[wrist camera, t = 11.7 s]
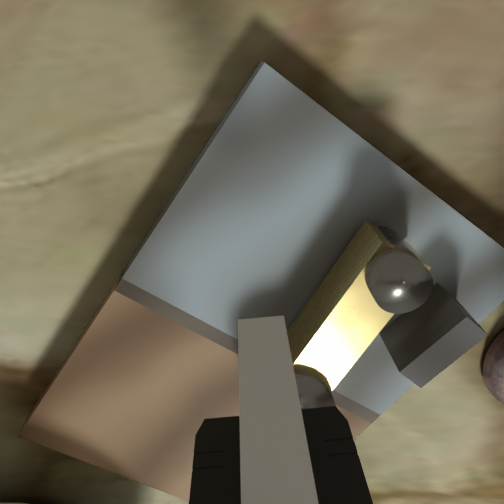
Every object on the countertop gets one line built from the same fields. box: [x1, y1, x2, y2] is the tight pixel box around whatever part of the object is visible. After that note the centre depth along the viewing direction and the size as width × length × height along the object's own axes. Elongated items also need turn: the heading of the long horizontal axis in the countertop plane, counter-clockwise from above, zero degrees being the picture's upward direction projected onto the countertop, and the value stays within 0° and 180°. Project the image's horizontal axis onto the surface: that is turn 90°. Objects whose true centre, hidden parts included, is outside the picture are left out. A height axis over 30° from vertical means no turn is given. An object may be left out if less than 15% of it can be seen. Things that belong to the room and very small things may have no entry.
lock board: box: [18, 60, 504, 501], centre depth 23 cm, size 17×24×5 cm
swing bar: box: [287, 220, 433, 409], centre depth 21 cm, size 12×4×4 cm, turn 151°
